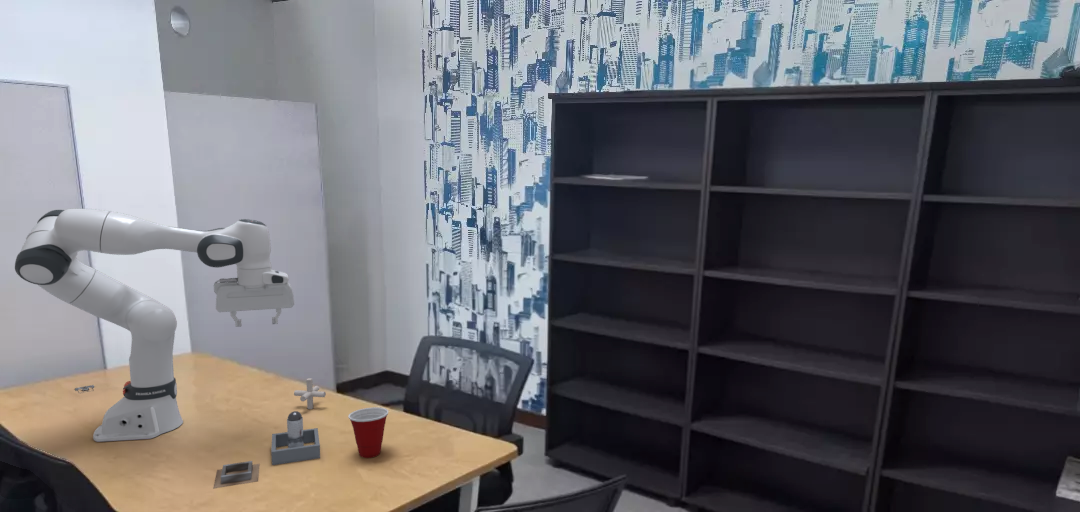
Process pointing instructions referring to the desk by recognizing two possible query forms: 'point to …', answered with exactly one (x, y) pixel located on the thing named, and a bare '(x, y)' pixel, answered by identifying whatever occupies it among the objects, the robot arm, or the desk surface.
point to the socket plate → (237, 474)
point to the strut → (295, 429)
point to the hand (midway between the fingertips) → (257, 325)
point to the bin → (295, 448)
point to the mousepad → (84, 388)
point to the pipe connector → (309, 393)
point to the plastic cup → (369, 430)
